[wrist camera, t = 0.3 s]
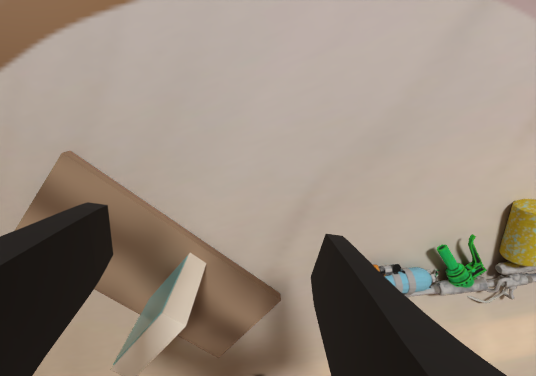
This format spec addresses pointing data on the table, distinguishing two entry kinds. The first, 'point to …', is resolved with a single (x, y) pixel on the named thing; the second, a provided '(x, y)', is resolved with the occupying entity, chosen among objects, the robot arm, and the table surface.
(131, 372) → the tile
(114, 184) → the board
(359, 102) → the table surface
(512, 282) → the flamethrower
